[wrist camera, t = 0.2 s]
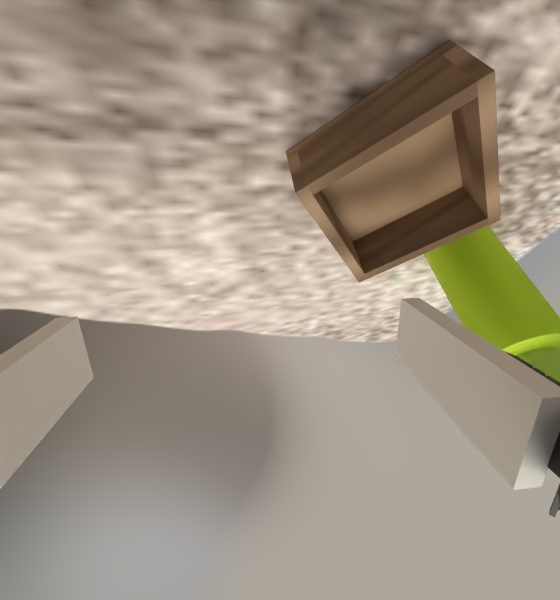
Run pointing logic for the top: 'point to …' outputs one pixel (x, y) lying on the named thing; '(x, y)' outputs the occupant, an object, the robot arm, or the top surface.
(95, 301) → the top surface
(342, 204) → the walnut caddy
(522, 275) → the soap dispenser
